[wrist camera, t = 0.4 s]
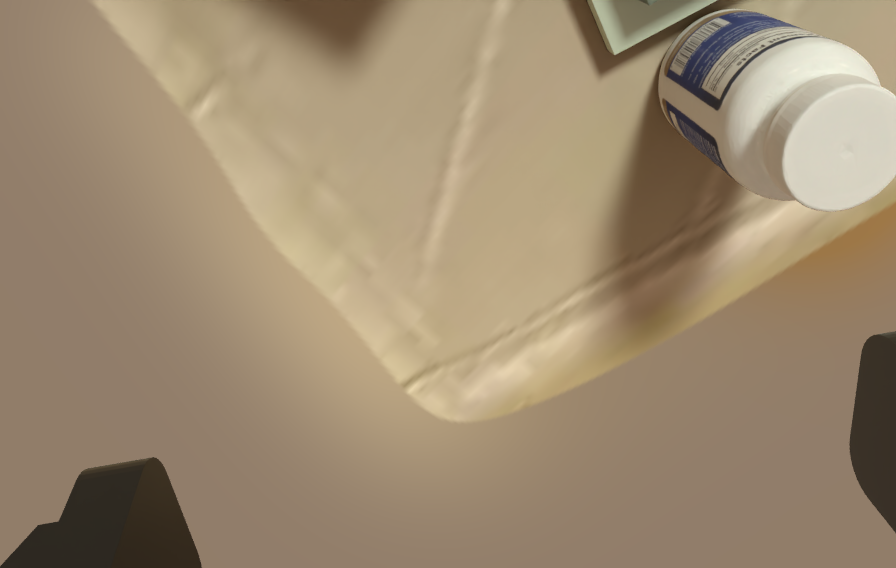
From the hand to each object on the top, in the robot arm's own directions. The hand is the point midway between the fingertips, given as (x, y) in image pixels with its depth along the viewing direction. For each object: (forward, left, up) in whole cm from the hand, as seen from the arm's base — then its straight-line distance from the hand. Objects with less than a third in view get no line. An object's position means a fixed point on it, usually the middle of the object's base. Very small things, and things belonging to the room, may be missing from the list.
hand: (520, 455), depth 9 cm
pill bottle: (+7, +10, -25) cm, 28 cm away
